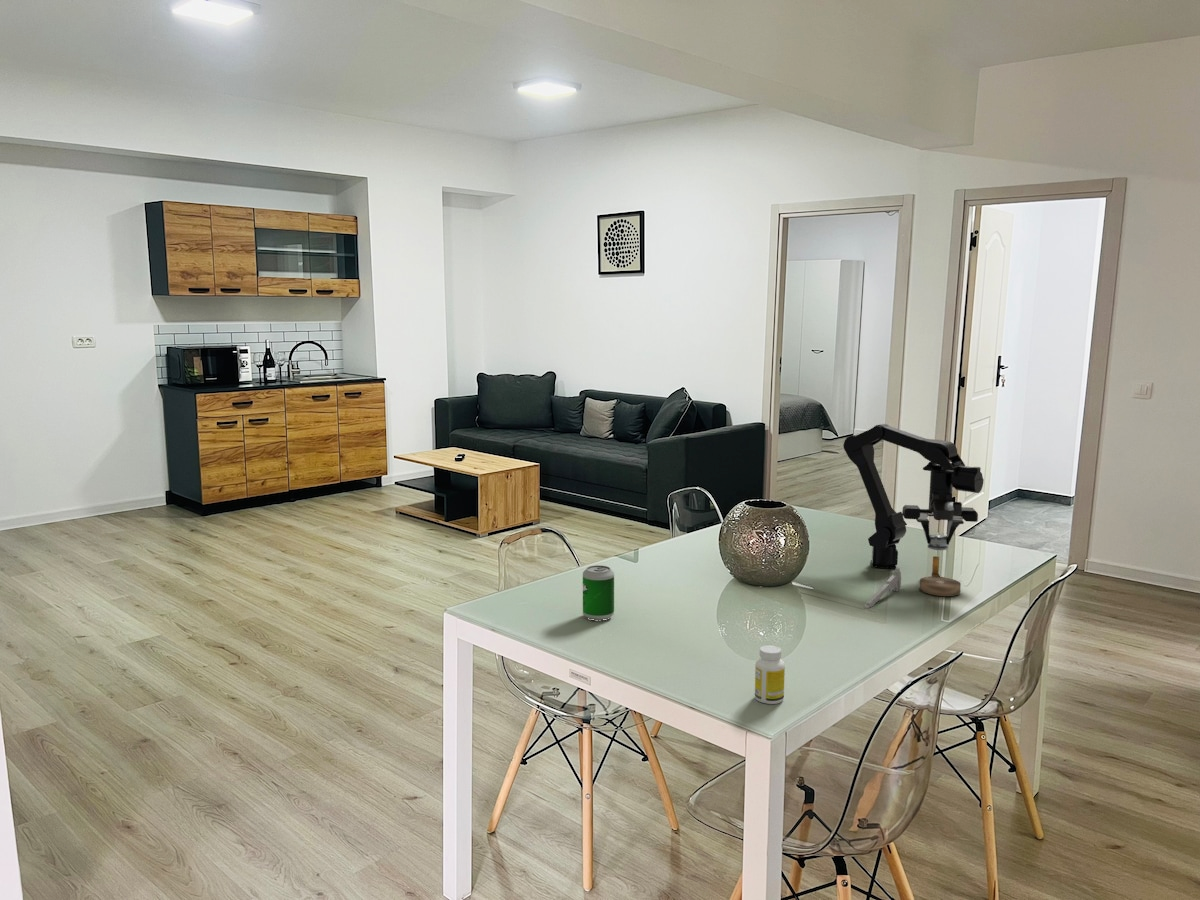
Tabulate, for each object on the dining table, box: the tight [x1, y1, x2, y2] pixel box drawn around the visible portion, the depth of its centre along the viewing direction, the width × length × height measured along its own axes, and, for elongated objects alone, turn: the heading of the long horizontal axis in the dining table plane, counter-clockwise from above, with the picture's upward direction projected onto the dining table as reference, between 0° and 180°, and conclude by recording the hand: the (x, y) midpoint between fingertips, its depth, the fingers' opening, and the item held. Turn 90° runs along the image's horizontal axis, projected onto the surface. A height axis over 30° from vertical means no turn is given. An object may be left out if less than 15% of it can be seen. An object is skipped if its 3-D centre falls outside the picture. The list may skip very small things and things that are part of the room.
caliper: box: [863, 567, 902, 609], centre depth 227 cm, size 20×1×6 cm, turn 140°
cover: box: [927, 533, 949, 551], centre depth 244 cm, size 5×5×3 cm
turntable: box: [919, 555, 962, 597], centre depth 235 cm, size 14×10×7 cm
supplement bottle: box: [754, 645, 786, 705], centre depth 168 cm, size 5×5×10 cm
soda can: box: [582, 564, 615, 620], centre depth 213 cm, size 8×8×12 cm
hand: (937, 544), depth 245 cm, fingers closed on cover, 5 cm apart
